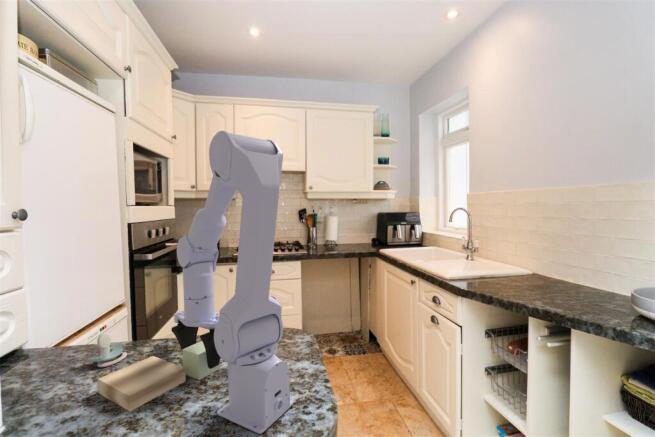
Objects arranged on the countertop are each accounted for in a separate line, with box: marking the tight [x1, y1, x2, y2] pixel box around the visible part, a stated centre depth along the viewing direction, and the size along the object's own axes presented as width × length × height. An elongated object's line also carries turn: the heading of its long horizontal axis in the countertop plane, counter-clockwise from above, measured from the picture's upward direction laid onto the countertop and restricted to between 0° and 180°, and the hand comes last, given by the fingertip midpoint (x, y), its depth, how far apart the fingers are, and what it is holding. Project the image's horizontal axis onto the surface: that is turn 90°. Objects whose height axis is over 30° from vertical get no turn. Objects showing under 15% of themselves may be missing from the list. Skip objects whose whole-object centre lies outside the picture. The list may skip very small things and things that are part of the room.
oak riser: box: [97, 355, 187, 412], centre depth 56 cm, size 11×10×3 cm
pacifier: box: [86, 332, 128, 368], centre depth 67 cm, size 7×6×6 cm
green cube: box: [181, 340, 221, 381], centre depth 61 cm, size 5×5×5 cm
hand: (201, 361), depth 62 cm, fingers open, 7 cm apart
